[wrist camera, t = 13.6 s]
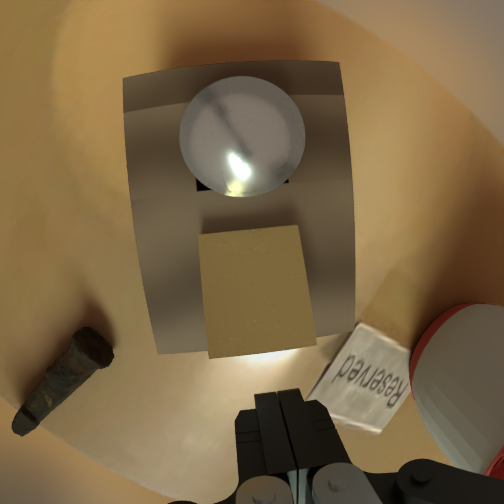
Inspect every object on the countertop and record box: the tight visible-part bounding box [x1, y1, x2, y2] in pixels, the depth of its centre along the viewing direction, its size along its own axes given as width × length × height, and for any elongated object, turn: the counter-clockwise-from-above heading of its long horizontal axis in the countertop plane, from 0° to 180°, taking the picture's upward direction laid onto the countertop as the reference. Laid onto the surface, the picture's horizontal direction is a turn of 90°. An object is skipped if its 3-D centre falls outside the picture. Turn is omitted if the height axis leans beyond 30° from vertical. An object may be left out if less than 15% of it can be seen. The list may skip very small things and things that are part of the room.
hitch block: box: [123, 60, 355, 354], centre depth 21 cm, size 16×12×8 cm
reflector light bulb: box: [179, 76, 305, 197], centre depth 18 cm, size 6×6×10 cm
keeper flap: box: [198, 225, 317, 359], centre depth 16 cm, size 6×5×1 cm
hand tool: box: [12, 327, 115, 437], centre depth 25 cm, size 19×4×5 cm, turn 129°
